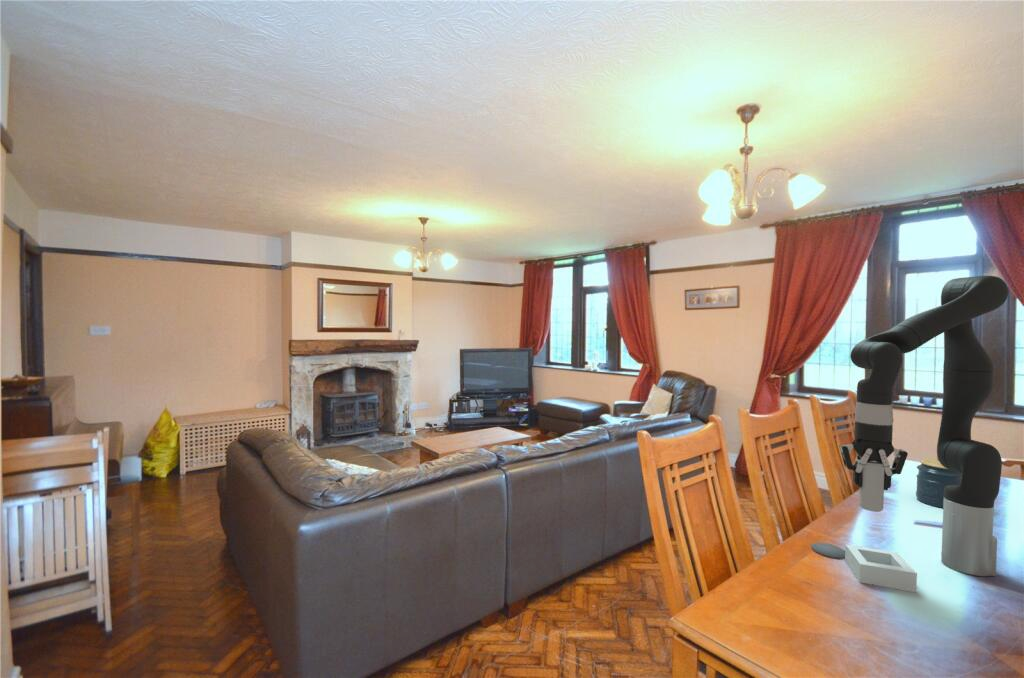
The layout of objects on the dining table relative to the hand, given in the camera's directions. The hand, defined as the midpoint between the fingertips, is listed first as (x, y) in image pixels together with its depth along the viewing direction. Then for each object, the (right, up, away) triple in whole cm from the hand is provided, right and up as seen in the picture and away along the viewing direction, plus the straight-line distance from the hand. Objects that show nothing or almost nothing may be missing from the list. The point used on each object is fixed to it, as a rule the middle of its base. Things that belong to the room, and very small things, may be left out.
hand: (871, 487), depth 115 cm
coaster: (-3, -21, +10) cm, 24 cm away
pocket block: (0, -21, -2) cm, 21 cm away
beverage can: (0, -6, 0) cm, 6 cm away
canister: (+63, -22, +48) cm, 82 cm away
